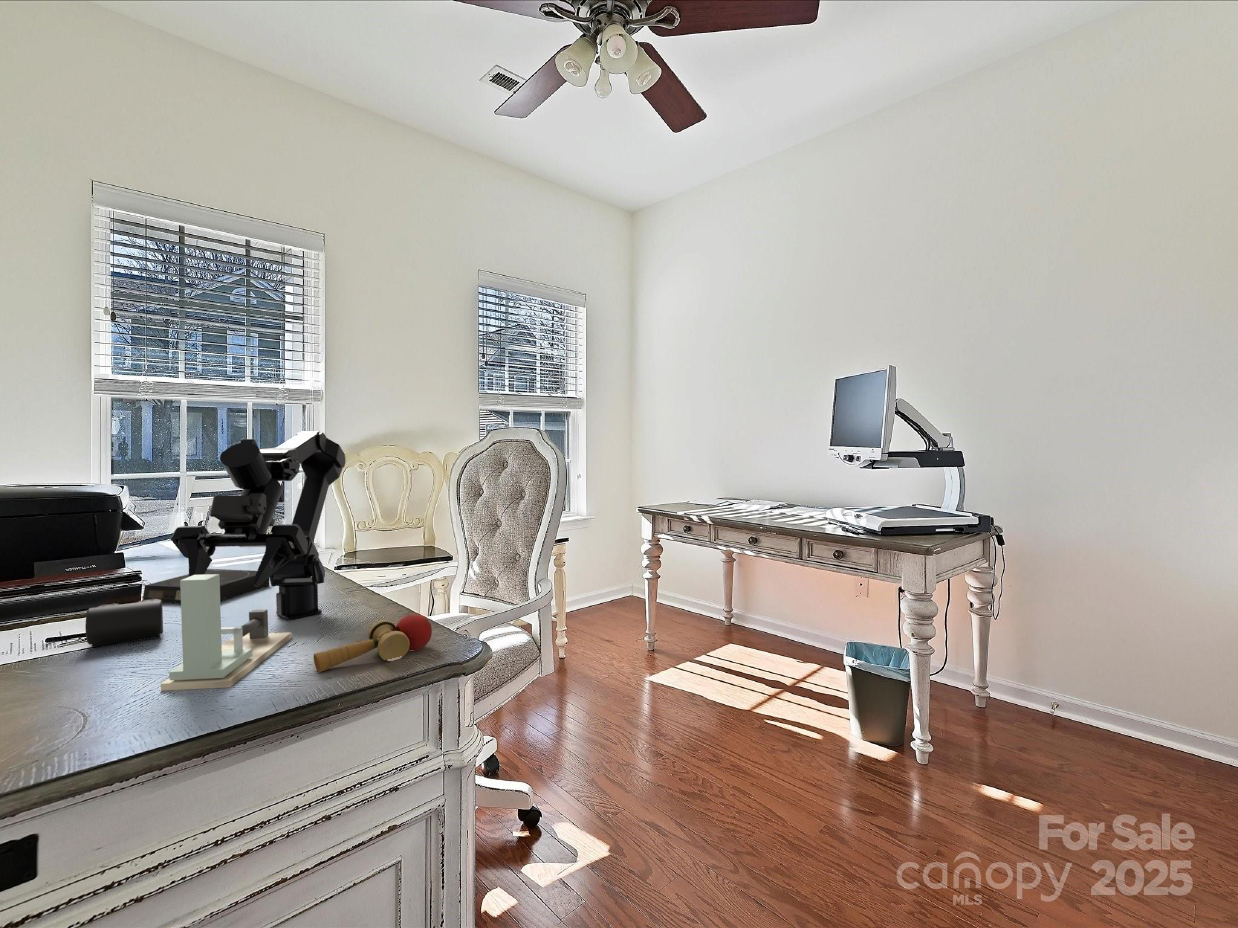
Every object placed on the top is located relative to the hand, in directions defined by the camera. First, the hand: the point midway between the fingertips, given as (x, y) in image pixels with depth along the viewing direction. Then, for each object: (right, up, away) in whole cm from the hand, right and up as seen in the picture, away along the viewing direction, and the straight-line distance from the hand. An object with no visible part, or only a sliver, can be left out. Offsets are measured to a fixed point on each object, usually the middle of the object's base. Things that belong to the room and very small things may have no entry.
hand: (223, 586), depth 92 cm
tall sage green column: (0, -11, -3) cm, 12 cm away
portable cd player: (-32, -11, +44) cm, 56 cm away
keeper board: (0, -12, +3) cm, 13 cm away
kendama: (+22, -13, +4) cm, 26 cm away
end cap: (-25, -12, +12) cm, 31 cm away
